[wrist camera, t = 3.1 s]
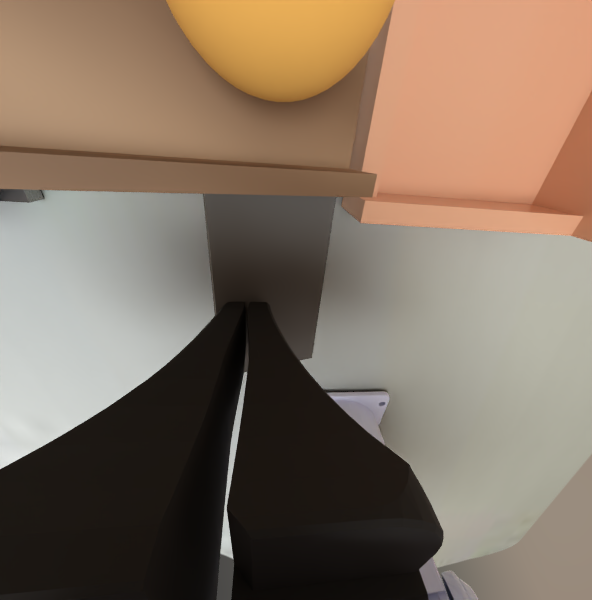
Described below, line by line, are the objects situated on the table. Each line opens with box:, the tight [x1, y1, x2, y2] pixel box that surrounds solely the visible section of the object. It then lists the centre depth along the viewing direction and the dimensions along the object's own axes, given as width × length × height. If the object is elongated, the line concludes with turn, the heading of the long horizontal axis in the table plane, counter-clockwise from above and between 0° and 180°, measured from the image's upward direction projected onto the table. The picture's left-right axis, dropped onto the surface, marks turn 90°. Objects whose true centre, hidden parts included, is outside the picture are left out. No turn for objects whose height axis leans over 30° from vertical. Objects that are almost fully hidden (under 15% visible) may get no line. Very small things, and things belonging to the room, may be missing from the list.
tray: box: [341, 0, 592, 242], centre depth 8 cm, size 10×10×5 cm
